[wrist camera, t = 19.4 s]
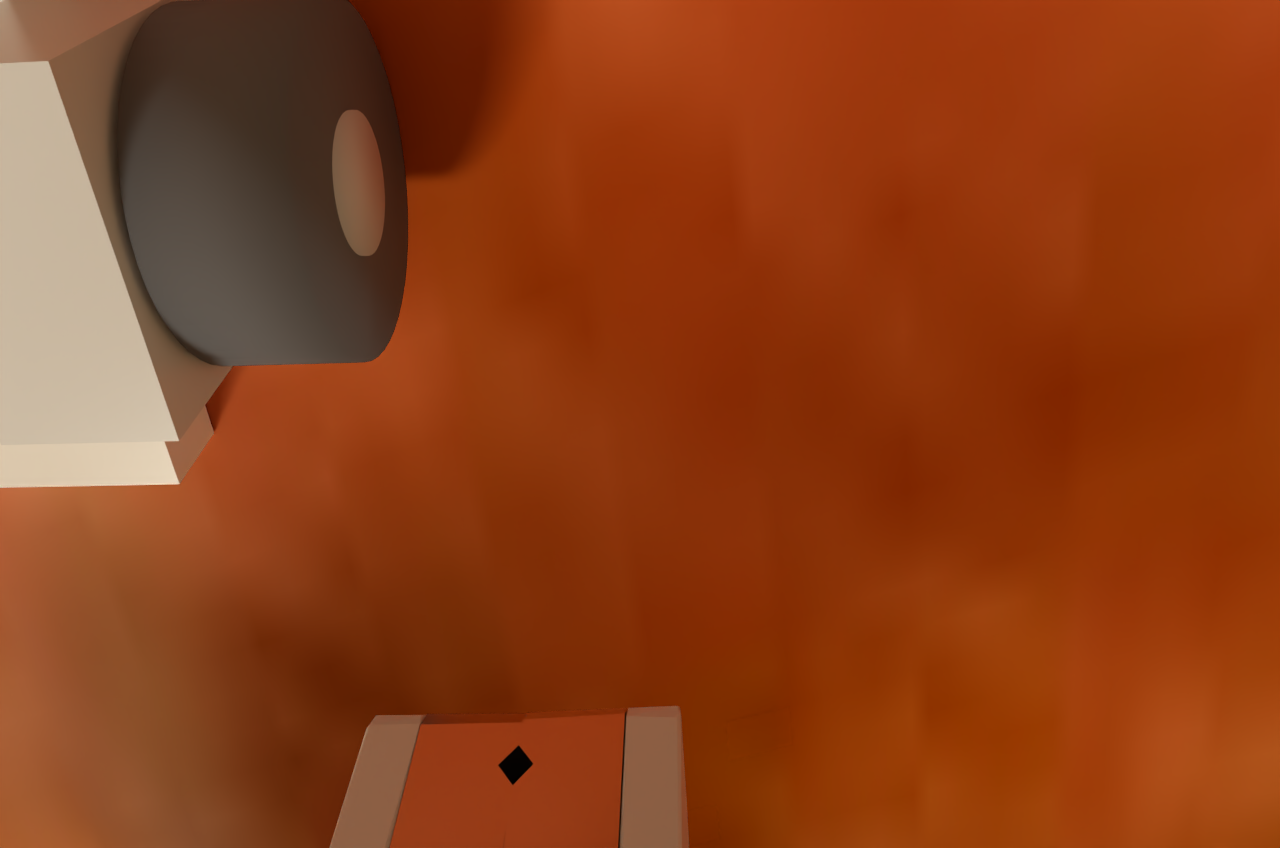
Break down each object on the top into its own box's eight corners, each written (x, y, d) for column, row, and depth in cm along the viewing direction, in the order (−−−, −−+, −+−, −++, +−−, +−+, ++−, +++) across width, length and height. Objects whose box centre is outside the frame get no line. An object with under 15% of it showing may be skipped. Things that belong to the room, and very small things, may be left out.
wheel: (429, 270, 23) (351, 430, 18) (121, 280, 23) (-41, 439, 18) (374, -40, 19) (259, 46, 14) (16, -22, 20) (-217, 70, 15)
